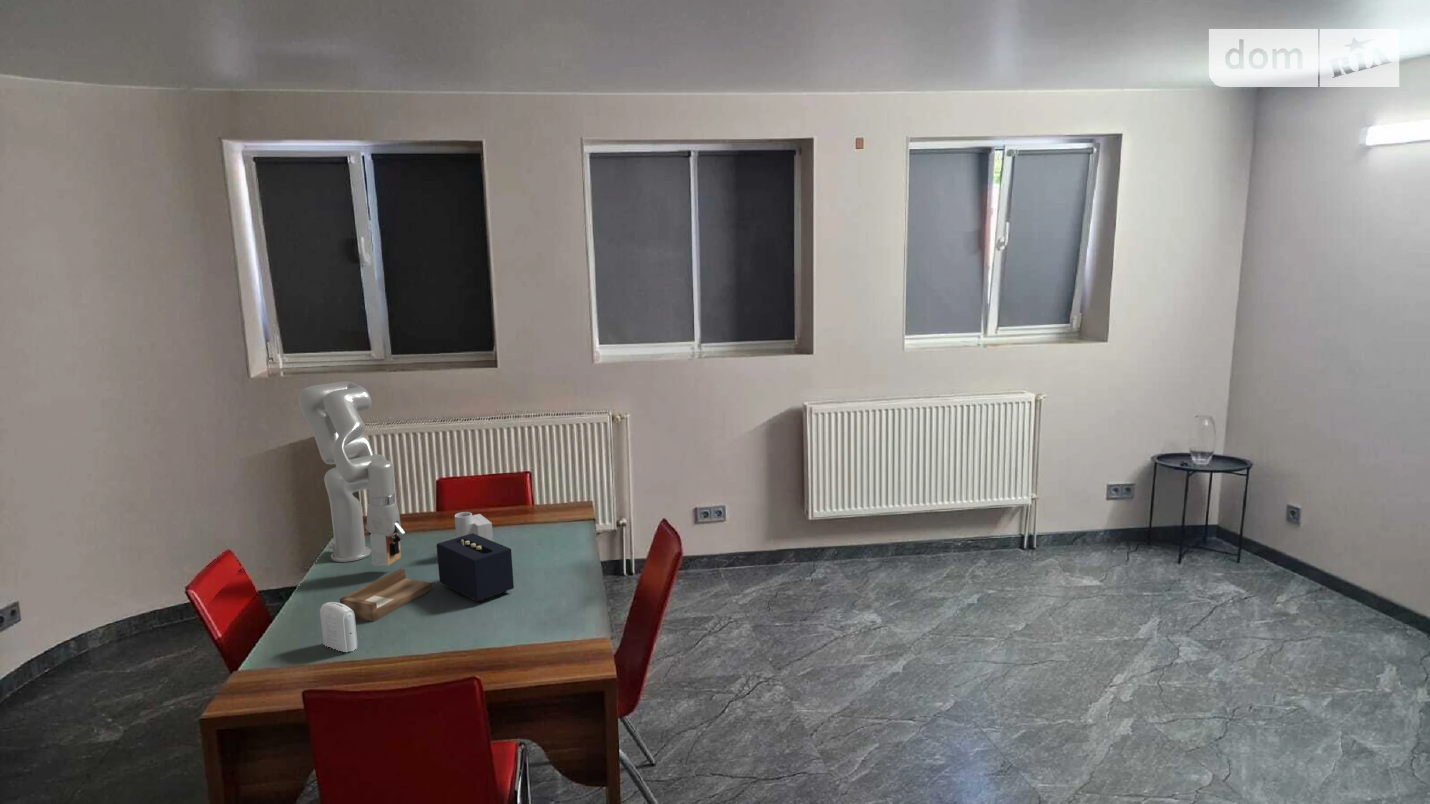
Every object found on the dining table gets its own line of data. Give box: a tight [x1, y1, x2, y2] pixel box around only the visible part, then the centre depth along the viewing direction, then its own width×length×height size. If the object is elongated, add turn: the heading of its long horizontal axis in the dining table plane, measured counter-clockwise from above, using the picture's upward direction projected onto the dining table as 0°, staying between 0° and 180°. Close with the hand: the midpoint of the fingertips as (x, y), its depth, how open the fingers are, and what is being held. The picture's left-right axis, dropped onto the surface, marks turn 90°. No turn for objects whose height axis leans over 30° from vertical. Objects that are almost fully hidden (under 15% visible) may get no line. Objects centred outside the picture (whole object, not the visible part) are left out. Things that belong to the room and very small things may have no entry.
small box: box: [369, 533, 402, 567], centre depth 265 cm, size 8×6×10 cm
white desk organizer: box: [454, 511, 494, 542], centre depth 280 cm, size 12×14×15 cm
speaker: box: [436, 533, 515, 604], centre depth 252 cm, size 22×13×15 cm, turn 47°
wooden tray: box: [339, 568, 433, 622], centre depth 245 cm, size 12×24×5 cm, turn 157°
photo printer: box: [319, 601, 358, 652], centre depth 217 cm, size 10×4×12 cm, turn 61°
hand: (386, 551), depth 265 cm, fingers closed on small box, 6 cm apart
